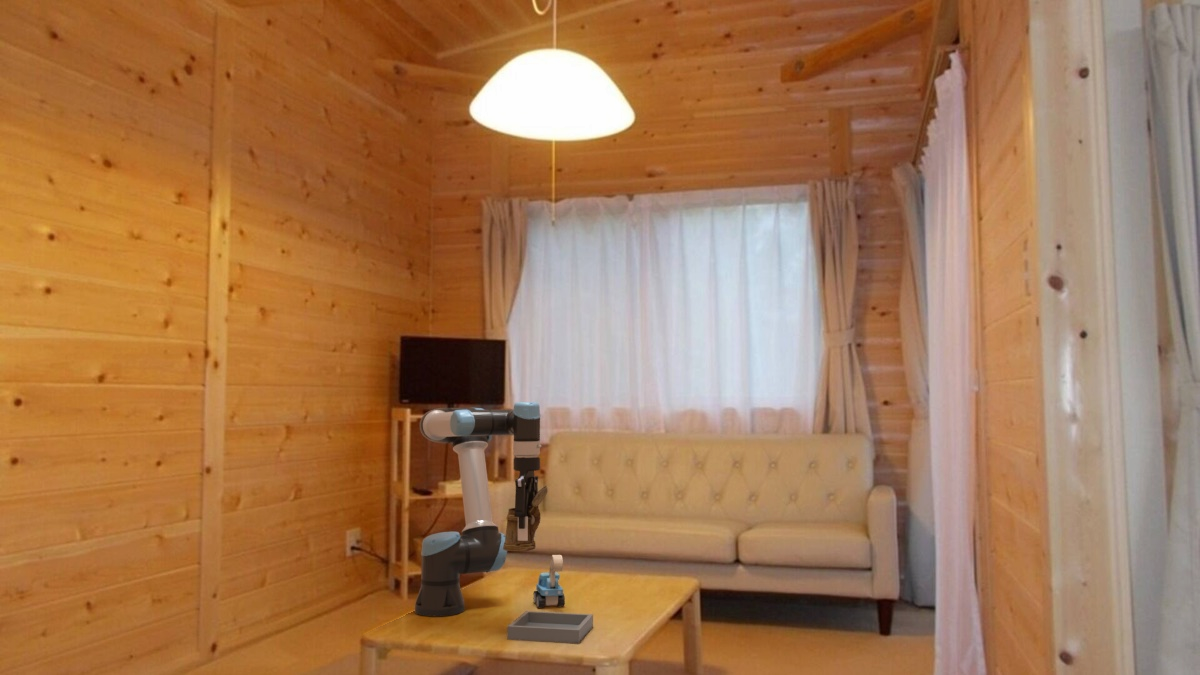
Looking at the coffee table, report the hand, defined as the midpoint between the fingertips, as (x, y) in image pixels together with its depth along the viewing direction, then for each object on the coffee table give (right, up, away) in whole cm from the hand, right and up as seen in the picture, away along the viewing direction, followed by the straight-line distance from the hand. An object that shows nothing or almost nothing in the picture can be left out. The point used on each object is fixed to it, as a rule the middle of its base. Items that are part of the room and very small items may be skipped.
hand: (526, 538), depth 251 cm
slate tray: (+7, -26, -3) cm, 27 cm away
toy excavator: (+5, -28, +28) cm, 40 cm away
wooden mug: (0, -3, -1) cm, 3 cm away
